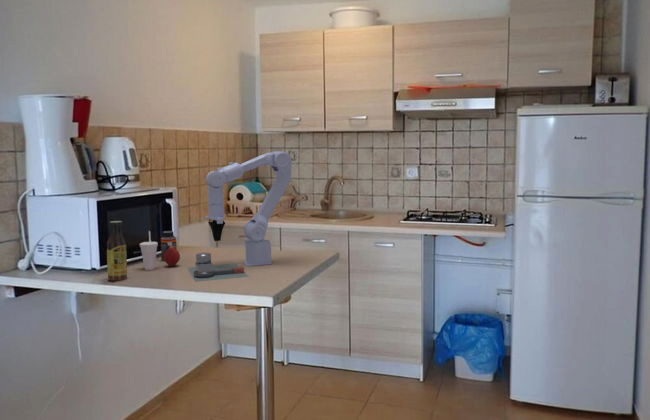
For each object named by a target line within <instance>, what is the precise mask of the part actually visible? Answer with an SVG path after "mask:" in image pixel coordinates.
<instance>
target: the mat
mask: <svg viewBox="0 0 650 420" xmlns="http://www.w3.org/2000/svg"><path fill="white" fill-rule="evenodd" d="M232 267H240V266H239V265H238V264H237V263H226V264H216V265H212V269H213V270H222V269H232ZM187 269H188V271H189V273H190V275H191V277H192V279H193V280H194V282H207V281H216V280H217V281H218V280H227V279H237V278H238V279H239V278H247V277H249V275H248V274H247V273H246V272H245V271H244V273H239V274H226V275H215V276H213V277H210V278H195V277H194V271H196V266H194V267H193V266H192V267H187Z"/></svg>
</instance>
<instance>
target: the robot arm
mask: <svg viewBox="0 0 650 420" xmlns="http://www.w3.org/2000/svg"><path fill="white" fill-rule="evenodd" d="M292 164H293V161H292V159H291V156H290V154H289V153H288V152H286V151H285V150H284V151H283V150H282V151H279V150H274V151H271V152H267V153H264V154H261V155H258V156H256V157H254V158H252V159H249V160H247V161H245V162H243V163H238V162H233V161H232V162H229V163H228V165H226V166H223V167H218V168H216V170H211V171H209V172H208V173H207V175H206V178H205V182H206V184H207V207H208V208H207V210H208V211H207V213H208V215H205V217H204V219H207V220H212V221H208V225H209V227H210V229H211V233H212V237H213V241H214V242H221V239H222V235H223V230H224V227H225V225H226V222H225V221H224V219H225V218H226V216H225V197H224V196H225V195H224V194H225V193H224V184H227V183H230V182H233V181H235V180H237V179H239V178H242V177H243V175H244V173H245V172H247V171H250V170H253V169H256V168H259V167H262V166H271V168H272V169H273V171H274V174H275V178H276V179H275V180H274V182H273V184H272V185H271V187H270V188H269V191H268V193H267V194H266V196H265V198H264V199H263V201H262V203H261V205H260V207H259V208H258V211H257V212H256V213H255V214H254V215H253V216H252V217H251V219H250V220H249V221H248V222H246V224H245V225H244V227H243V233H244V235H245V236H246V237H245V240H244V242H245V243H244V245H245V246H244V247H245V260H243V261H242V262H243V263H244V265H245V266H246V267H250V266H251V267H252V266H262V265H263V266H265V265H272V243H271V241H270V240H269V239H265V236H266V232H267V231H266V230H267V228H268V225H269V220H270V218H271V216H272V215H273V213H274V211H275V209H276V208H277V205H278V204H279V202H280V200H281V198H282V196H283V195H284V193H285V191H286V190H287V189H288V186H289V184H290V182H291V180H292V166H293V165H292Z"/></svg>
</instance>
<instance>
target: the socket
mask: <svg viewBox="0 0 650 420" xmlns="http://www.w3.org/2000/svg"><path fill="white" fill-rule="evenodd" d="M194 263H195V266H194V267H196V271H197V272H198V273H207V272H213V270H212V266H213V263H212V254H211V253H210V252H199V253H198V252H197V253H196V254H195V262H194Z"/></svg>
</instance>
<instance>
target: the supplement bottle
mask: <svg viewBox="0 0 650 420" xmlns="http://www.w3.org/2000/svg"><path fill="white" fill-rule="evenodd" d="M162 235H163V236H161V238H160V254H161V256H160V257H161V261H163V262H165V261H164V254H165V252H166V251H167V250H168V249H169V248H170V246H174V247H173V248H175V249H176V250H177V251H178V249H177V246H178V245H177V237H176V236H175V235H174V231H172V230H166V231H162Z"/></svg>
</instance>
